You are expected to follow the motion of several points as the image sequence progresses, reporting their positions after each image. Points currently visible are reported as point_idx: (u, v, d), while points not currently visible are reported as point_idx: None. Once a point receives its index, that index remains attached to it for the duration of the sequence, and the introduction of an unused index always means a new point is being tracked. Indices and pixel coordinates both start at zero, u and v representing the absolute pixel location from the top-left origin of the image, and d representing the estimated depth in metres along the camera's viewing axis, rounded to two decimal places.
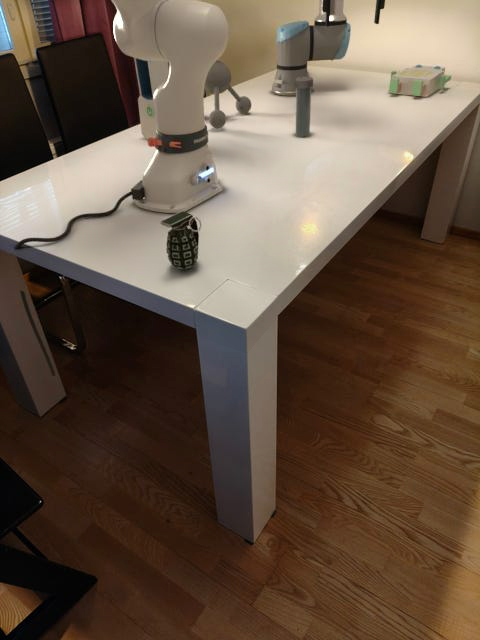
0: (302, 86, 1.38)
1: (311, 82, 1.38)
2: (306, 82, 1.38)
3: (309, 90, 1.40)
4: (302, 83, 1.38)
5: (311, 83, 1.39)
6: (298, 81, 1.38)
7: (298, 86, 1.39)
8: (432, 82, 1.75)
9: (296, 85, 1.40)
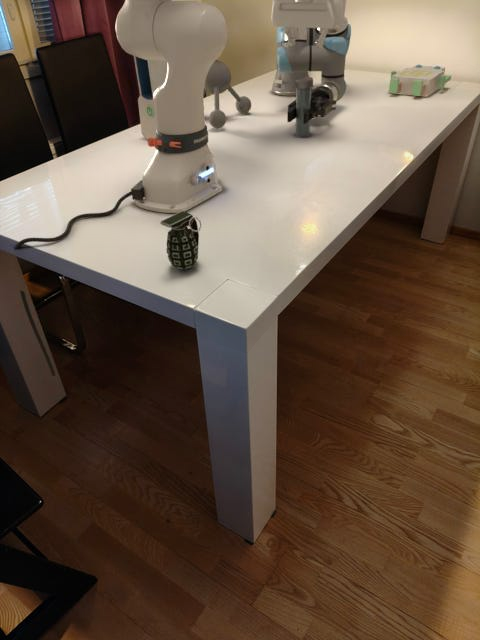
0: (302, 86, 1.38)
1: (311, 82, 1.38)
2: (306, 82, 1.38)
3: (309, 90, 1.40)
4: (302, 83, 1.38)
5: (311, 83, 1.39)
6: (298, 81, 1.38)
7: (298, 86, 1.39)
8: (432, 82, 1.75)
9: (296, 85, 1.40)
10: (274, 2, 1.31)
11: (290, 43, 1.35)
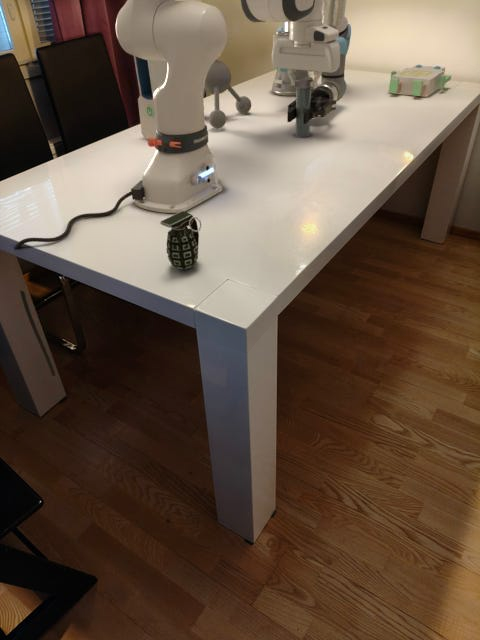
0: (302, 86, 1.38)
1: None
2: (306, 82, 1.38)
3: (309, 90, 1.40)
4: (302, 83, 1.38)
5: None
6: (298, 81, 1.38)
7: (298, 86, 1.39)
8: (432, 82, 1.75)
9: (296, 85, 1.40)
10: (274, 46, 1.37)
11: (293, 83, 1.41)
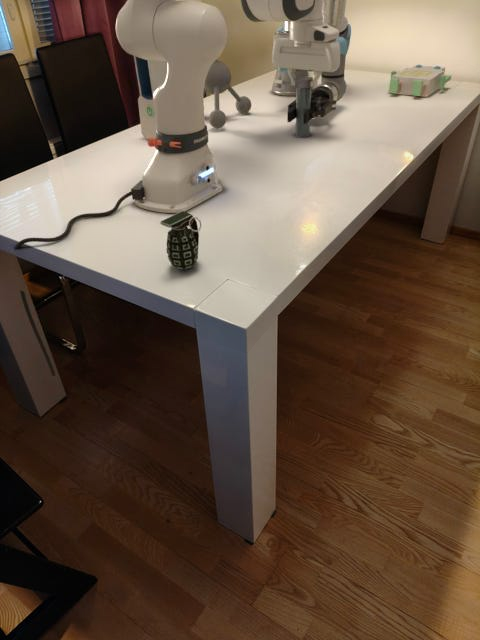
0: None
1: None
2: (312, 79, 1.39)
3: (309, 90, 1.40)
4: None
5: None
6: (309, 80, 1.38)
7: (309, 85, 1.39)
8: (432, 82, 1.75)
9: (306, 85, 1.38)
10: (274, 45, 1.37)
11: (293, 83, 1.41)
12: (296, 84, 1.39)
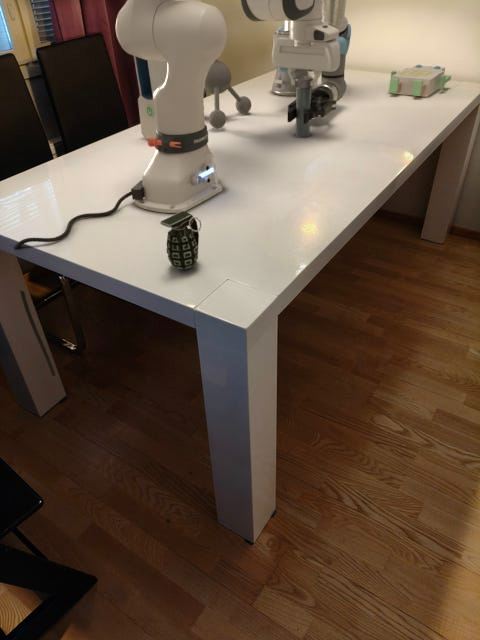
0: None
1: None
2: None
3: (309, 90, 1.40)
4: None
5: None
6: None
7: None
8: (432, 82, 1.75)
9: None
10: (274, 45, 1.37)
11: (293, 82, 1.41)
12: (307, 84, 1.38)
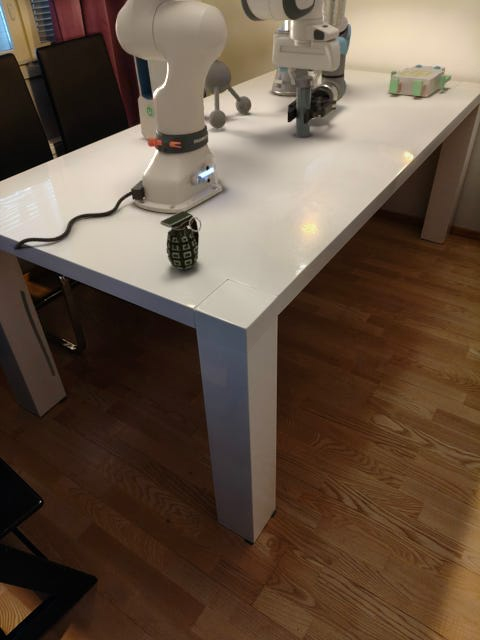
0: None
1: (295, 81, 1.39)
2: None
3: (309, 90, 1.40)
4: None
5: (295, 82, 1.39)
6: None
7: None
8: (432, 82, 1.75)
9: None
10: (275, 44, 1.37)
11: (293, 82, 1.41)
12: None
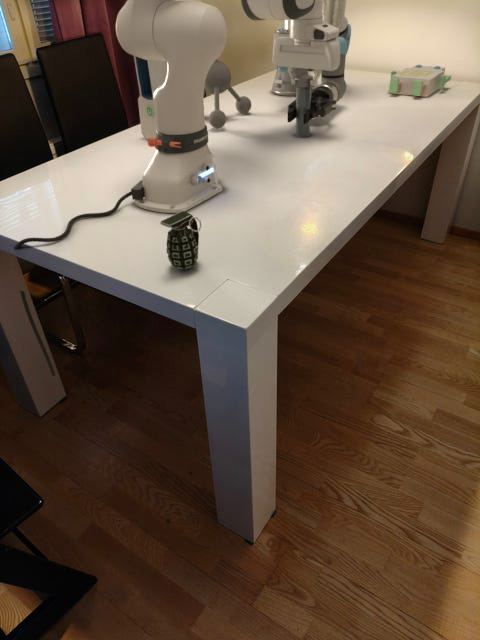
0: (296, 84, 1.39)
1: (305, 82, 1.38)
2: (299, 80, 1.38)
3: (309, 90, 1.40)
4: (296, 81, 1.39)
5: (305, 83, 1.38)
6: None
7: (295, 83, 1.40)
8: (432, 82, 1.75)
9: None
10: (275, 44, 1.37)
11: (293, 82, 1.41)
12: None
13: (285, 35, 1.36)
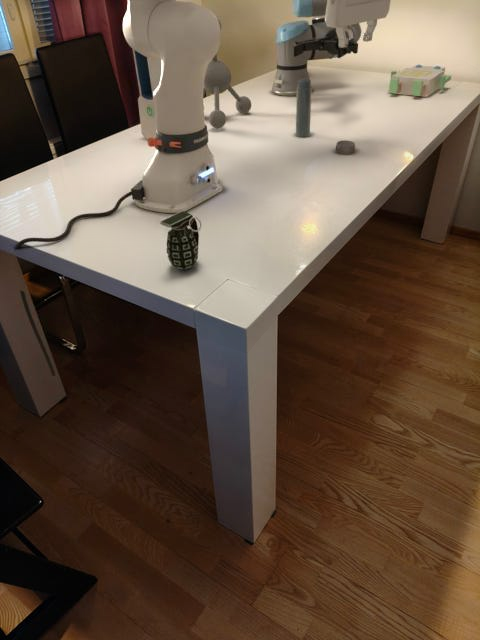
0: (348, 151, 1.34)
1: (354, 146, 1.35)
2: (352, 147, 1.34)
3: (309, 90, 1.40)
4: (348, 148, 1.33)
5: (354, 147, 1.35)
6: (344, 147, 1.33)
7: (344, 152, 1.34)
8: (432, 82, 1.75)
9: (340, 151, 1.34)
10: None
11: (345, 43, 1.17)
12: None
13: None
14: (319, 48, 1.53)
